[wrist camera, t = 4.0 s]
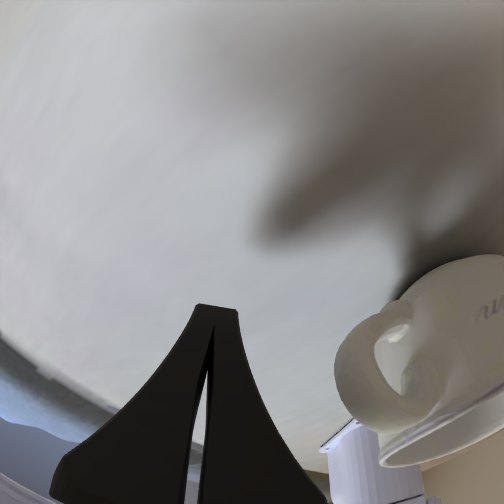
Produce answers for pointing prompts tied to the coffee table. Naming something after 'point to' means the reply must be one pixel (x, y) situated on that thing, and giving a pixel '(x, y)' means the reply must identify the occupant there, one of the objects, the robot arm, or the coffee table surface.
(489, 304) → the teacup
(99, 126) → the coffee table surface
